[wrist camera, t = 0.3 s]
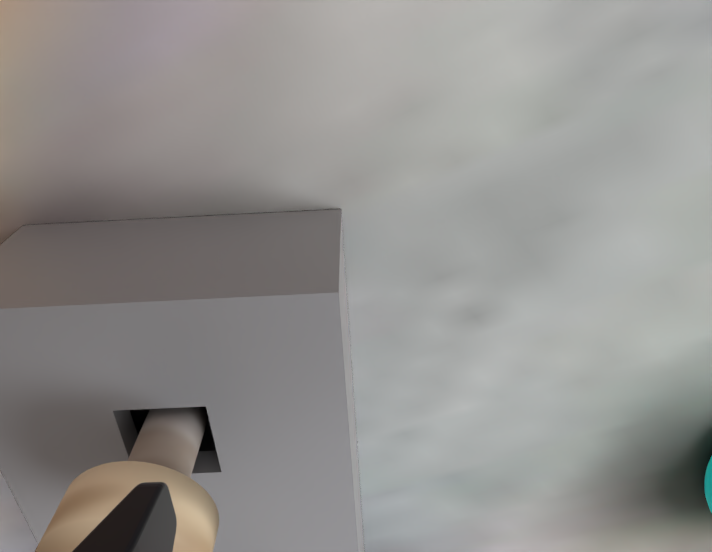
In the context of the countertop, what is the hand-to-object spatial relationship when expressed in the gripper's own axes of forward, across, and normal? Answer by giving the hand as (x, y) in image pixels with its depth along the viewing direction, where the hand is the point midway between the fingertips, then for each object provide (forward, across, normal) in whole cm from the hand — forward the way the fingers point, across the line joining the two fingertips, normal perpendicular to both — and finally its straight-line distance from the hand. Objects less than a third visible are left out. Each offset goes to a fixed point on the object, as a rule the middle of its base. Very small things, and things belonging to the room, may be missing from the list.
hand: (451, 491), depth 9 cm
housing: (+14, +8, +12) cm, 20 cm away
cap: (+10, +8, +6) cm, 14 cm away
